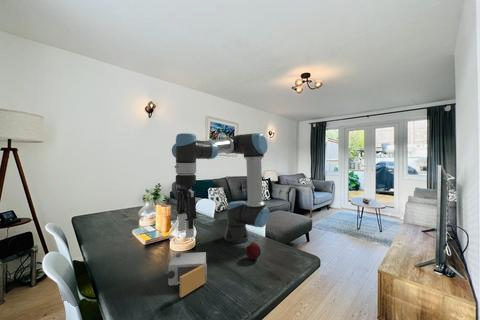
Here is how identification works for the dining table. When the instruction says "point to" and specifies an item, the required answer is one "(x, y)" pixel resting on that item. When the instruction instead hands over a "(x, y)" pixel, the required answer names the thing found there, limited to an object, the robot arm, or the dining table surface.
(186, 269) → the small grey cabinet
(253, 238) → the dining table surface
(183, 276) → the side door
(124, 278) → the dining table surface
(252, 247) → the apple
